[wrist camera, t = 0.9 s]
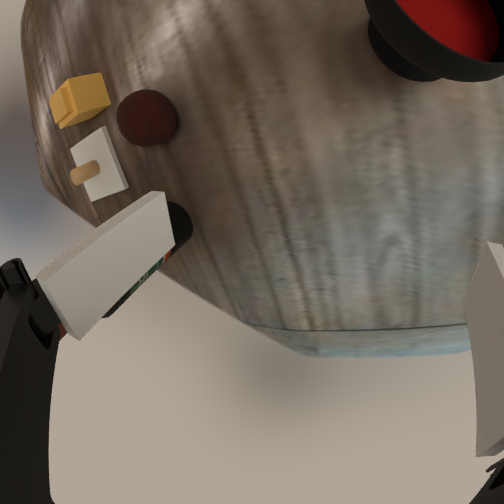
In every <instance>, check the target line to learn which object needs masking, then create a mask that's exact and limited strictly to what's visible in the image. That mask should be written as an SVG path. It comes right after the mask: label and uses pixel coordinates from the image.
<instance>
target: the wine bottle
mask: <svg viewBox="0 0 504 504" xmlns="http://www.w3.org/2000/svg"><path fill="white" fill-rule="evenodd" d="M166 203H167V208H168V213H169V218H170V223H171V228H172V232H173V237H174V242H175V245H174V246H173V247H172V248H171V249H170V250H169V251H168V252H167V253H166V254H165V255H164V256H163V257H162V258H161V259H160V260H159V261H158V262H157V263H155V264H154V265H153V266H152V267H151V268H150V269H149V270H148V271H147V272H146V273H145V274H144V275H143V276H142V277H141V278H140V279H139V280H138V281H137V282H136V283H135V284H134V285H133V286H132V287H131V288H130V289H129V290H128V291H127V292H126V293H125V294H124V295H123V296H122V297H121V298H120V299H119V300H118V301H117V302H116V303H115V304H114V305H113V306H112V307H111V308H110V309H109V310H108V311H107V312H106V313H105V314H104V315H103V316H102V317H101V318H106V317H109V316H110V315H112V314H113V313H114V312H115V311H116V310H117V309H118V308H119V306H121V305H122V304H123V303H124V302H125V301H126V300H127V299H128V298H129V296H131V295H132V294H133V292H135V291H136V290H137V289H138V288H139V287H140V286H141V285H142V283H144V282H145V281H146V280H147V279H148V278H149V277H150V276H151V275H152V274H153V273H154V272H155V271H156V270H157V269H158V268H159V267H160V266H161V265H162V264H163V263H164V262H165V261H166V260H167V259H168V258H169V257H170V256H171V255H172V254H173V253H175V252H176V251H177V250H178V249H179V248H180V247H181V246H182V245H183V244H184V243H185V242H186V241H187V240H188V239H189V238H190V237H191V235H192V233H193V225H192V221H191V219H190V217H189V215H188V213H187V212H186V211H185V210H184V209H183V208H182V207H181V206H179V205H178V204H176V203H173V202H166ZM58 328H59V330H60V339H59V341H60V340H61V339H62V338H63V337H64V336H65V334H66V333H67V331H66V329H65V328H64V326H63V325H62V323H60V324H59V325H58Z"/></svg>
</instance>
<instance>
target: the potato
mask: <svg viewBox="0 0 504 504" xmlns="http://www.w3.org/2000/svg"><path fill="white" fill-rule="evenodd" d="M117 123H118V126H119V129H120V131H121V133H122V135H123V136H124V137H125V138H126V139H127V140H128V141H129V142H130V143H131V144H134V145H138V146H142V147H145V146H149V145H154V144H158V143H162V142H163V141H165V140H166V139H167V138H169V137H170V136H172V135H173V133H174V131H175V130H176V128H177V116H176V113H175V110H174V108H173V107H172V105H171V103H170V102H169V100H168V99H167V98H166V97H165V96H163V95H162V94H161V93H159V92H157V91H154V90H140V91H136V92H134V93H132V94H130V95H129V96H127V97H126V98H125V99H124V100H123V101H122V102H121V103H120V105H119V107H118V110H117Z"/></svg>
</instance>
